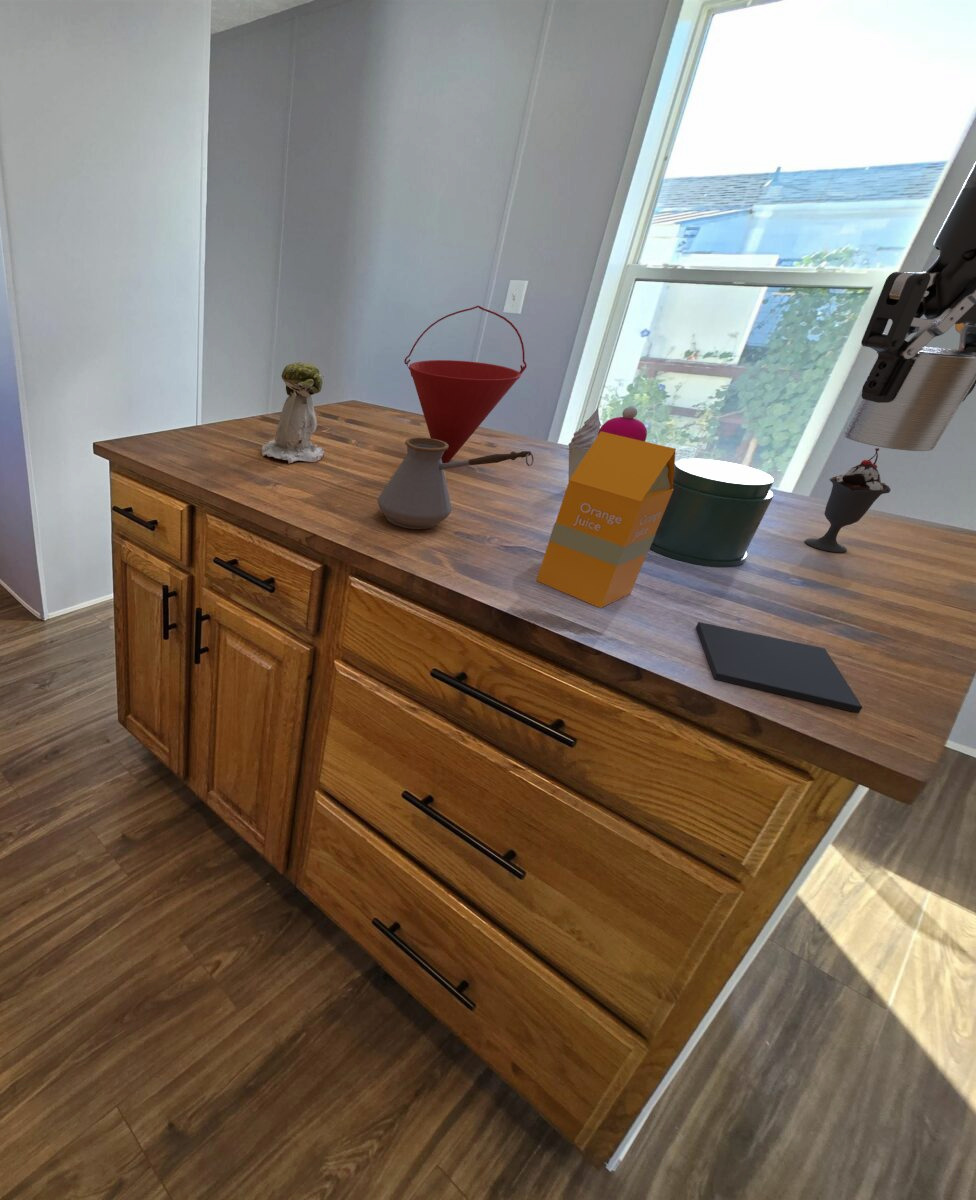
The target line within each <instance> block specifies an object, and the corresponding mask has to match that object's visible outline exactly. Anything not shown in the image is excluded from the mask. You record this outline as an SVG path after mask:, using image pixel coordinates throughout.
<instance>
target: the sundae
mask: <svg viewBox="0 0 976 1200" xmlns="http://www.w3.org/2000/svg"><path fill="white" fill-rule="evenodd" d="M874 450H875V454H873V456H872V457H870V458H869V459H863V460H862V461H861V462H860V464H856V465H853V466H852V467H850V468H849V469H848V470H847V471H845V472H844V473H843V474H840V475H835V476H833V477H831V478H829V481H830V482H831V483H832V487H831V490H830V494H829V497H828V500H827V502H826V505H825V510H824V513H823V514H824V516H825V519H826V520H827V521H828V522H829V524H830V526H829V528H828V529H827V531H826V532H825V534H824V535H823V536H821V537H819V538H816V537H815V538H814V537H812V538H809V537H808V538H806V539H804V542H806V543H805V544H806V545H808V546H809V545H810V547H812V548H814V547H815V548H814V549H817V548H818V549H817V550H820V549H821V550H820V551H825V552H829V551H830V552H829V553H838V554H839V553H840V554H841V553H845V552H847V550H848V549H847V547H845V546H844V545H843V544H840V543H838V541H837V537H838V535H839V532H840V531H841V529H842V528H843V527H846V526H851V525H853V524H855V523H858V522H859V521H860V520H861V519H862V518H863V517H864V516H865V515H866V513H867V512H868V511H869V509H871V507H872V505H874V503H875V502H876V500H878V498H879V497H880V496H881V495H884V494H889V493H891V488H890V486H889V485H887V484H886V483H885V482H882V479H881V474H880V472H879V470H878V465H877V464H876V463H877V461H878V458H879V453H878V451H880V447H879V448H878V447H877V448H874ZM874 458H875V460H874V462H872V461H871V460H873V459H874Z"/></svg>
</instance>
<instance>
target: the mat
mask: <svg viewBox="0 0 976 1200" xmlns="http://www.w3.org/2000/svg"><path fill="white" fill-rule="evenodd" d="M695 629H696V631H697V635H698V637H699V640H700V642H701V645H702V648H703V651H704V654H705V657H706V659H707V662H708V665H709V669H710V671H711V674H712V677H713V679H714V680H717V681H722V682H725V683H728V684H729V683H730V684H734V685H737V686H742V687H746V688H750V689H755V690H760V691H762V692H767V693H772V694H776V695H780V696H784V697H789V698H794V699H796V700H801V701H806V702H810V703H814V704H819V705H823V706H826V707H831V708H835V709H839V710H843V711H849V712H853V713H856V712H857V714H860V712H861V710H863V705H862V703H861V702H860V700H859V699H858V697H857V696H856V695H855V693H854V692H853V690H852V688H851V687H850V686H849V685H850V684H848V682H847V681H846V679H845V678H844V676H843V674H842V673H841V671H840V670H839V668H838V667H837V665H836V663H835V662H834V660H833V659H832V657H831V655H830V654H829V652H828V651H827V650H826V648H825V647H820V646H816V645H811V644H807V643H802V642H797V641H796V642H795V641H792V640H787V639H782V638H777V637H772V636H767V635H763V634H757V633H754V632H749V631H745V630H741V629H734V628H730V627H725V626H720V625H716V624H711V623H707V622H701V621H698V622H697V623H696V626H695Z"/></svg>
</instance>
